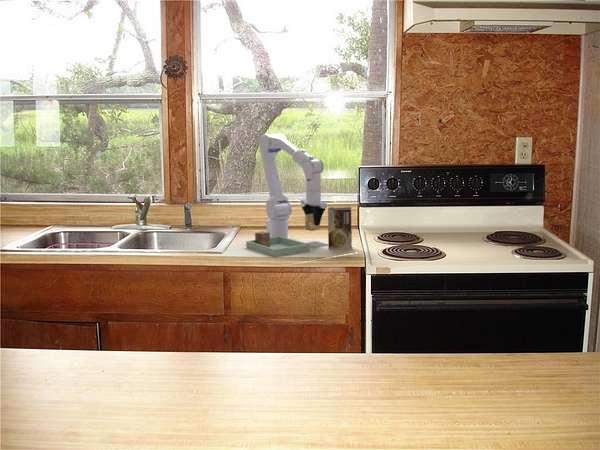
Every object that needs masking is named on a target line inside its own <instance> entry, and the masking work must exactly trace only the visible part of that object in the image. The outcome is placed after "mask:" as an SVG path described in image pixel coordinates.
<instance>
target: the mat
mask: <svg viewBox="0 0 600 450" xmlns="http://www.w3.org/2000/svg"><path fill="white" fill-rule="evenodd" d="M306 243H307V244H310V249H317V248H318V249H319V248H323V247H328V243H325V242H320V241H314V240H313V241H309V242H306Z"/></svg>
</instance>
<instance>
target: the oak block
mask: <svg viewBox="0 0 600 450" xmlns="http://www.w3.org/2000/svg"><path fill="white" fill-rule="evenodd" d="M304 221H305V230H306V231H309V232H314V231H320V230H321V227H320V226H321V224H320V225H314V216H313V214H307V215H305V214H304Z"/></svg>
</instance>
